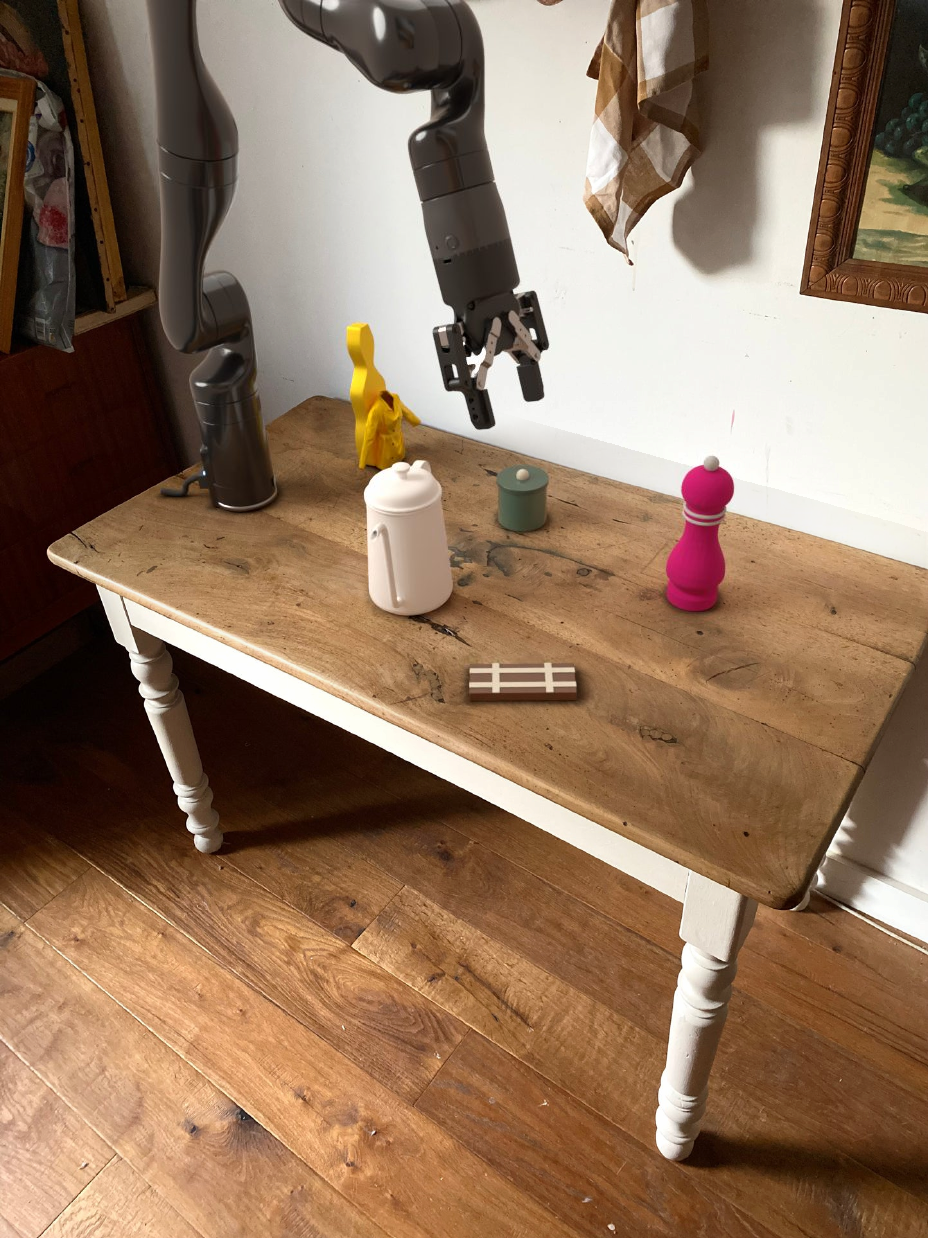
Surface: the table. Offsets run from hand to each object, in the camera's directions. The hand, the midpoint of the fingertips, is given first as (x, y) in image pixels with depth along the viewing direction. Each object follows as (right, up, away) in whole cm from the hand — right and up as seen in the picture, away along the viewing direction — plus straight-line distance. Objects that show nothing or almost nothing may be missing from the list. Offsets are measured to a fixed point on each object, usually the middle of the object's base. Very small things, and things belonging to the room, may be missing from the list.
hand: (510, 413), depth 91 cm
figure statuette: (-18, +5, +57) cm, 60 cm away
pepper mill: (+24, -18, +26) cm, 40 cm away
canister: (+4, -6, +42) cm, 42 cm away
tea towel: (+2, -28, +13) cm, 31 cm away
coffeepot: (-12, -18, +28) cm, 35 cm away
